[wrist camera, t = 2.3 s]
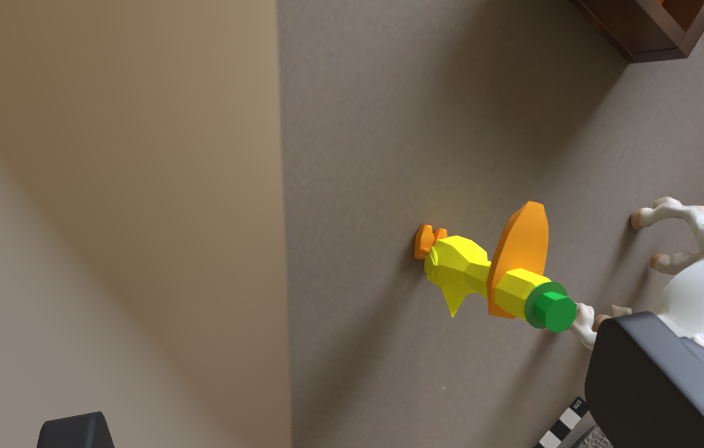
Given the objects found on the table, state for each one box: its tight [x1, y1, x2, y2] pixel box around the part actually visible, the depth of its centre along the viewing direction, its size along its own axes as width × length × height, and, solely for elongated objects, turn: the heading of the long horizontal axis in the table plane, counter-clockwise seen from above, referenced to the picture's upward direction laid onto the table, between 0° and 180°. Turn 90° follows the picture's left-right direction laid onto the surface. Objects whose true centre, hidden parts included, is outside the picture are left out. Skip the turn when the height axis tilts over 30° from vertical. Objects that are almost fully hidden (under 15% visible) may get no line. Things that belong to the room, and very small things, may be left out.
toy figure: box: [414, 201, 577, 333], centre depth 31 cm, size 7×4×12 cm, turn 165°
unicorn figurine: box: [569, 197, 704, 351], centre depth 36 cm, size 7×20×13 cm, turn 154°
